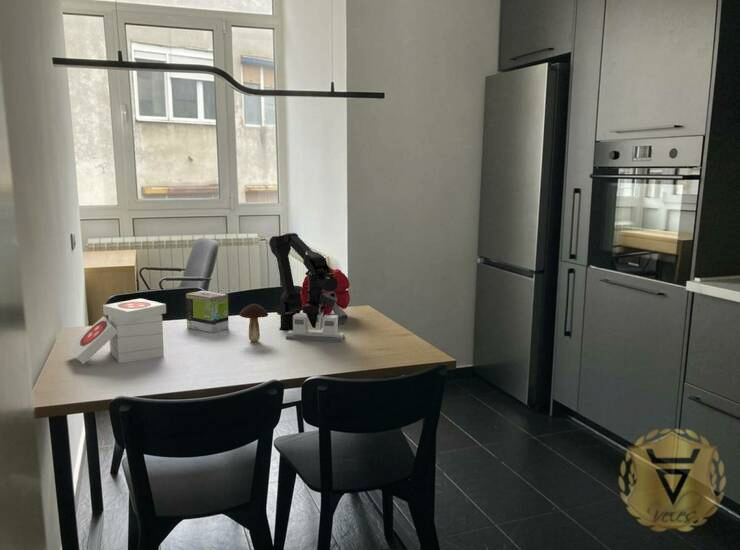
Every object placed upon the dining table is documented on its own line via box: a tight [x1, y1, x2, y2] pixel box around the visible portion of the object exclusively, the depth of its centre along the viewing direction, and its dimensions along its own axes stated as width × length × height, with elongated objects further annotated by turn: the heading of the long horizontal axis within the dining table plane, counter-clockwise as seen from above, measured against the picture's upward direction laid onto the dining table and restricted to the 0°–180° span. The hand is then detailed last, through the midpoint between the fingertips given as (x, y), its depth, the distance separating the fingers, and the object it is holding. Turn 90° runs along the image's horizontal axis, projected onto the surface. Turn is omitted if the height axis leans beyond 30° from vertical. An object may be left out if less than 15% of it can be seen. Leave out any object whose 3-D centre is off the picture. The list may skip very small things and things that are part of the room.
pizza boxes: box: [69, 298, 167, 365], centre depth 207 cm, size 19×30×18 cm, turn 124°
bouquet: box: [300, 265, 351, 324], centre depth 268 cm, size 22×24×30 cm
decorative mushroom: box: [238, 303, 269, 343], centre depth 228 cm, size 11×11×15 cm
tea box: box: [185, 290, 229, 334], centre depth 247 cm, size 15×10×15 cm
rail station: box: [285, 312, 345, 343], centre depth 236 cm, size 22×8×9 cm, turn 83°
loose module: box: [308, 313, 323, 331], centre depth 236 cm, size 5×5×6 cm
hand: (315, 326), depth 236 cm, fingers closed on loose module, 5 cm apart
